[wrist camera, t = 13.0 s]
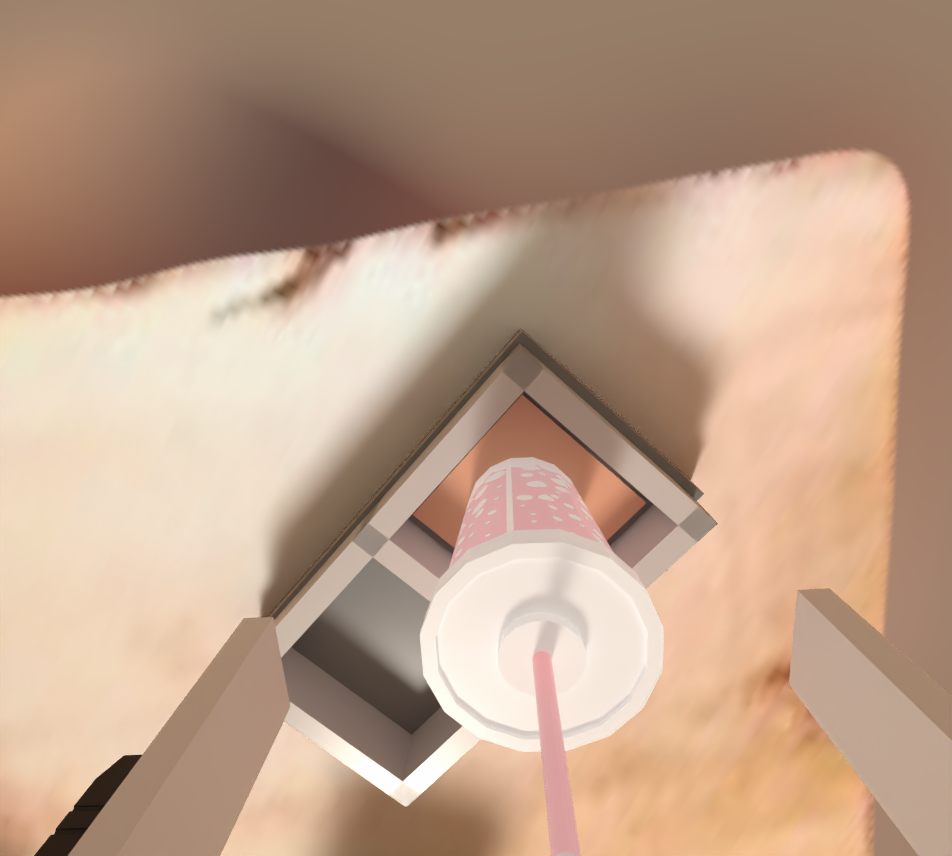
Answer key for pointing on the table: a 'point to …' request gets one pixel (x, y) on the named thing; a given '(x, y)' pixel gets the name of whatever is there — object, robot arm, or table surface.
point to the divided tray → (430, 552)
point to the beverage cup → (539, 628)
